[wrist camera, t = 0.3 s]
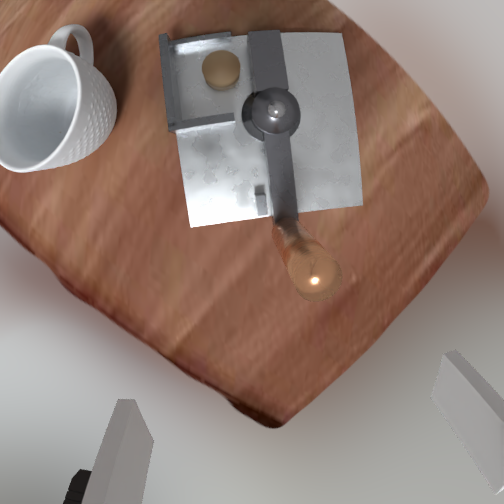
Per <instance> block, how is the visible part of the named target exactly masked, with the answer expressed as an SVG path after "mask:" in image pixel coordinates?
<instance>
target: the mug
mask: <svg viewBox="0 0 504 504" xmlns="http://www.w3.org/2000/svg"><path fill="white" fill-rule="evenodd" d="M70 33H71V34H73V35H74V37H75V38H76V40H77V42H78V46H79V52H80V57H79V56H76V55H75V54H74V53H72V52H68V51H67V50H65V48H66V42H67V39H68V36H69V35H70ZM93 63H94V53H93V44H92V39H91V36H90V34H89V32H88V31H87V30H86V28H84V27H83V26H81V25H78V24H70V25H66V26H63V27H61V28H60V29H58V30H57V31H56V32H55V33H54V35H53V36H52V38H51V39H50V41H49V43H48V45H38V46H34V47H31V48H29V49H27V50H25V51H23V52H22V53H20V54H19V55H17V56H16V57H15V58H14V59H13V60H12V61H11V62H10V63H9V64H8V65H7V66H6V67H5V68H4V70H3V71H2V72H1V74H0V164H1V165H2V166H3V167H5V168H7V169H9V170H11V171H15V172H31V171H39V170H43V169H49V168H56V167H59V166H64V165H69V164H71V163H73V162H77V161H78V160H80V159H83V158H85V157H86V156H88V155H90V154H91V153H92V152H94V151H95V150H96V149H98V148H99V147H100V145H101V144H103V143H104V141H105V140H106V139H107V138H108V136H109V134H110V133H111V132H112V129H113V126H114V125H115V120H116V114H117V103H116V98H115V95H114V92H113V90H112V87H111V86H110V84H109V82H108V81H107V80H106V78H105V77H104V76H103V75H102V73H101V72H99V71H98V70H97V69H96V67H93Z"/></svg>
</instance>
